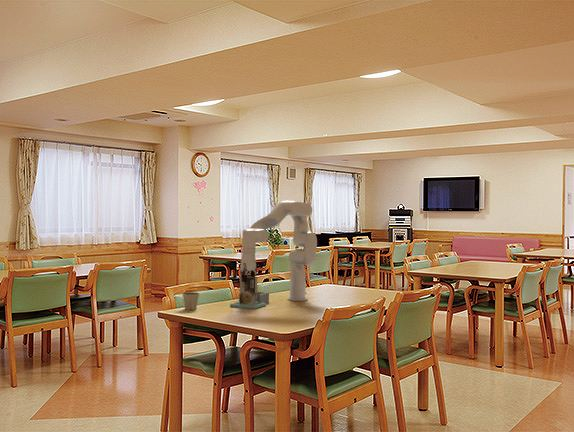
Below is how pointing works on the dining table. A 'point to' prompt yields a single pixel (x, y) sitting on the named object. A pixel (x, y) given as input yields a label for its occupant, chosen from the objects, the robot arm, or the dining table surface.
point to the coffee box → (248, 291)
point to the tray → (238, 305)
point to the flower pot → (190, 300)
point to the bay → (261, 297)
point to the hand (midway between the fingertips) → (248, 281)
